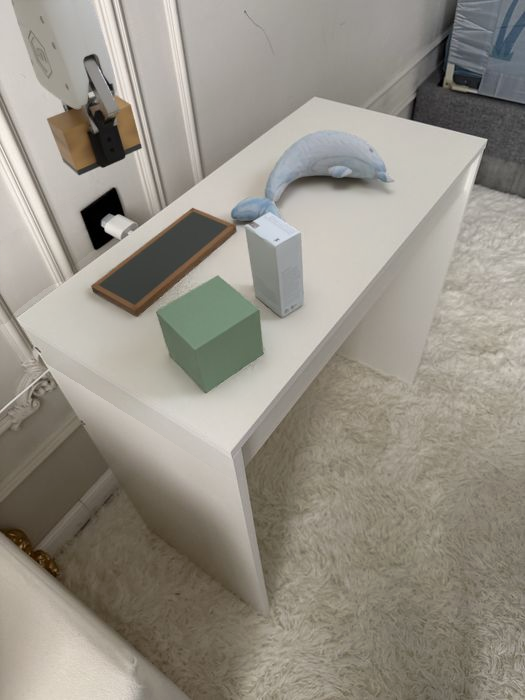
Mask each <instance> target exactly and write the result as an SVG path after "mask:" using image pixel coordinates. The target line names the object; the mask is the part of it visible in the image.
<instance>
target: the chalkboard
mask: <svg viewBox="0 0 525 700" xmlns="http://www.w3.org/2000/svg"><path fill="white" fill-rule="evenodd" d="M235 233H237V225H236V224H234V223H231V222H229V221H226V220H224V219H221V218H219V217H216V216H214V215H212V214H209V213H206V212H204V211H201V210H199V209H197V208H194V207H191V208H190V209H189V210H188V211H186V212H185V213H184V214H182V215H181V216H180V217H179V218H177V219H176V220H175V221H173V222H172V223H170V224H169V225H168V226H167V227H165V228H164V229H163V230H162V231H161V232H159V233H158V234H157V235H155V236H153V237H152V238H150V240H149V241H147V242H146V243H145V244H143V245H142V246H140V247H139V248H138V249H137V250H135V251H134V252H133V253H132V254H130V255H129V256H127V258H125V259H123V261H121V262H120V263H119V264H117V265H116V266H115V267H114V268H112V269H111V270H110V271H108V272H107V273H106V274H104V275H103V276H102V277H101V278H99V279H98V280H97V281H95V282H94V283H92V284H91V285H90V288H91V291H92V293H94V294H96V295H98V296H99V297H101V298H102V299H104V300H106V301H108V302H110V303H112V304H113V305H114V306H117V307H119V308H121V309H122V310H124V311H126V312H128V313H129V314H131V315H132V316H135V317H139V316H140V315H141V314H142V313H144V312H145V311H146V310H147V309H148V308H149V307H150V306H151V305H153V304H154V303H155V302H156V301H157V300H159V299H160V298H161V297H162V296H163V295H164V294H166V293H167V292H168V291H169V290H170V289H171V288H173V287H174V286H175V285H176V284H177V283H178V282H180V281H181V280H182V279H183V278H185V276H187V275H188V274H189V273H190V272H191V271H192V270H193V269H195V268H196V267H197V266H199V264H201V263H202V262H203V261H204V260H205V259H207V258H208V257H209V256H210V255H211V254H212V253H213V252H215V251H216V250H217V249H218V248H220V246H221V245H223V244H224V243H225V242H226V241H227V240H229V239H230V238H231V237H232V236H233V235H234V234H235Z"/></svg>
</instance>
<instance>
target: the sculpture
mask: <svg viewBox="0 0 525 700" xmlns="http://www.w3.org/2000/svg"><path fill="white" fill-rule="evenodd" d="M312 176H314V177H315V176H326V177H327V176H328V177H329V176H330V177H332V178H338V179H340V178H353V179H367V180H372V181H373V180H374V181H376V180H378V181H381V182H383V183H386V184H390V183H394V182H395V179H394V178H393V176H392V175H390V174H389V173H387V167H386V164H385V162H384V160H383V159H382V157H381V155H380V154H379V153H378V152H377V150H376V149H375V148H374V147H373V146H372V145H371V144H370V143H368V141H366V140H365V139H363V138H361V137H358V136H357V135H355V134H351V133H349V132H345V131H341V130H333V129H328V130H327V129H326V130H319V131H316V132H312V133H309V134H307V135H305V136H302V137H301V138H299V139H298V140H296V141H295V142H294V143H292V144H291V146H289V147H288V148H287V149H286V150H285V152H283V154H282V155H281V156H280V157H279V158H278V160H277V162H275V164H274V166H273V168H272V170H271V171H270V173H269V175H268V178H267V182H266V184H265V188H264V197H247V198H244V199H243V200H241V201H240V202H238V203H237V204H236V205H235V206H234V207H233V208H232V209H231V211H230V216H231V219H233V220H236V221H240V222H242V221H243V222H244V221H245V222H246V221H254V220H256V219H258V218H259V217H261V216H263V215H265V214H267V213H269V212H271V213H272V214H274V215H275V216H277V217H278V218H280V219H281V220H283V221H284V222H286V219H285V218H284V216H283V214H282V213H281V211H280V210H279V208H278V207H277V205H276V203H275V202H277V201H279V199H280V197H281V195H282V193H283V192H284V191H285V189H286V188H287V187H288V186H290V184H291V183H292V182H294V181H296V180H297V179H299V178H304V177H312ZM286 223H287V222H286Z"/></svg>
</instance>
